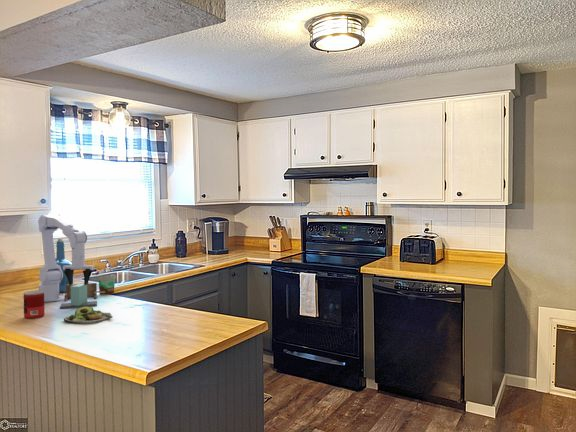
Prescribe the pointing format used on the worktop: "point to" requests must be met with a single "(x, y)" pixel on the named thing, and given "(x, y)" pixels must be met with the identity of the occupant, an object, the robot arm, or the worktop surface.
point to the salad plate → (87, 316)
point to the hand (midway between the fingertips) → (78, 284)
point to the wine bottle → (62, 264)
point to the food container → (107, 284)
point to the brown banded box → (90, 290)
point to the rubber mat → (68, 305)
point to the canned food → (34, 304)
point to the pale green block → (78, 294)
